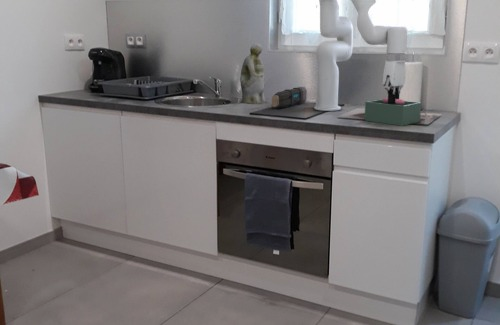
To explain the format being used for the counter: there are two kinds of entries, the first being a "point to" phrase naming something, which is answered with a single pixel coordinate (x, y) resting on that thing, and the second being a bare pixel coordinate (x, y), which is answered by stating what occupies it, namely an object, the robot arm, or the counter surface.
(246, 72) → the sculpture
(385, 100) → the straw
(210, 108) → the counter surface
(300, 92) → the dark brown log
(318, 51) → the robot arm
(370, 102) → the bin
